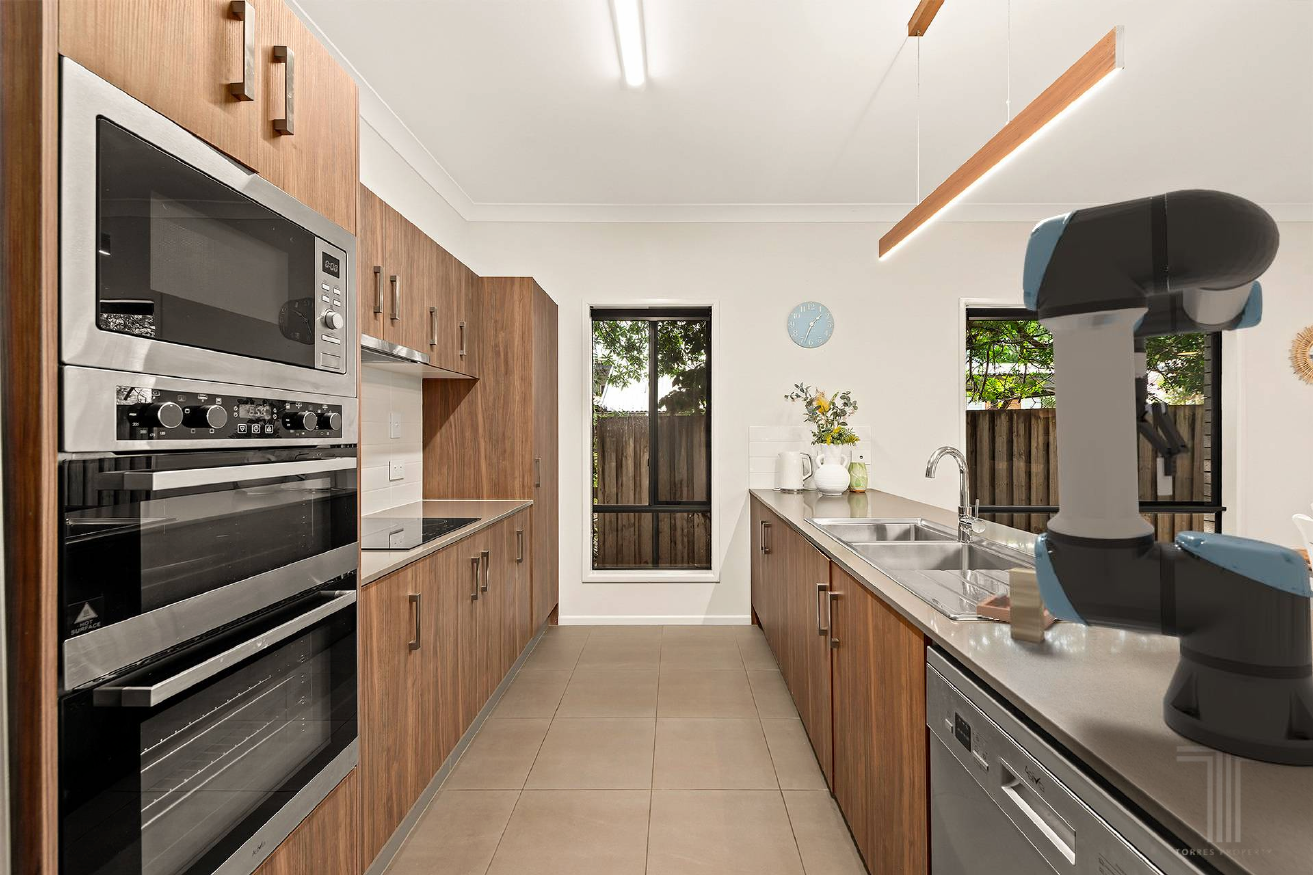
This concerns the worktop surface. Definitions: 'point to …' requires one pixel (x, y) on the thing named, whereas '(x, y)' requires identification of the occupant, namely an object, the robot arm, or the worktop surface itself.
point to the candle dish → (1004, 609)
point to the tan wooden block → (1026, 606)
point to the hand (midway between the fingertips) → (1124, 492)
